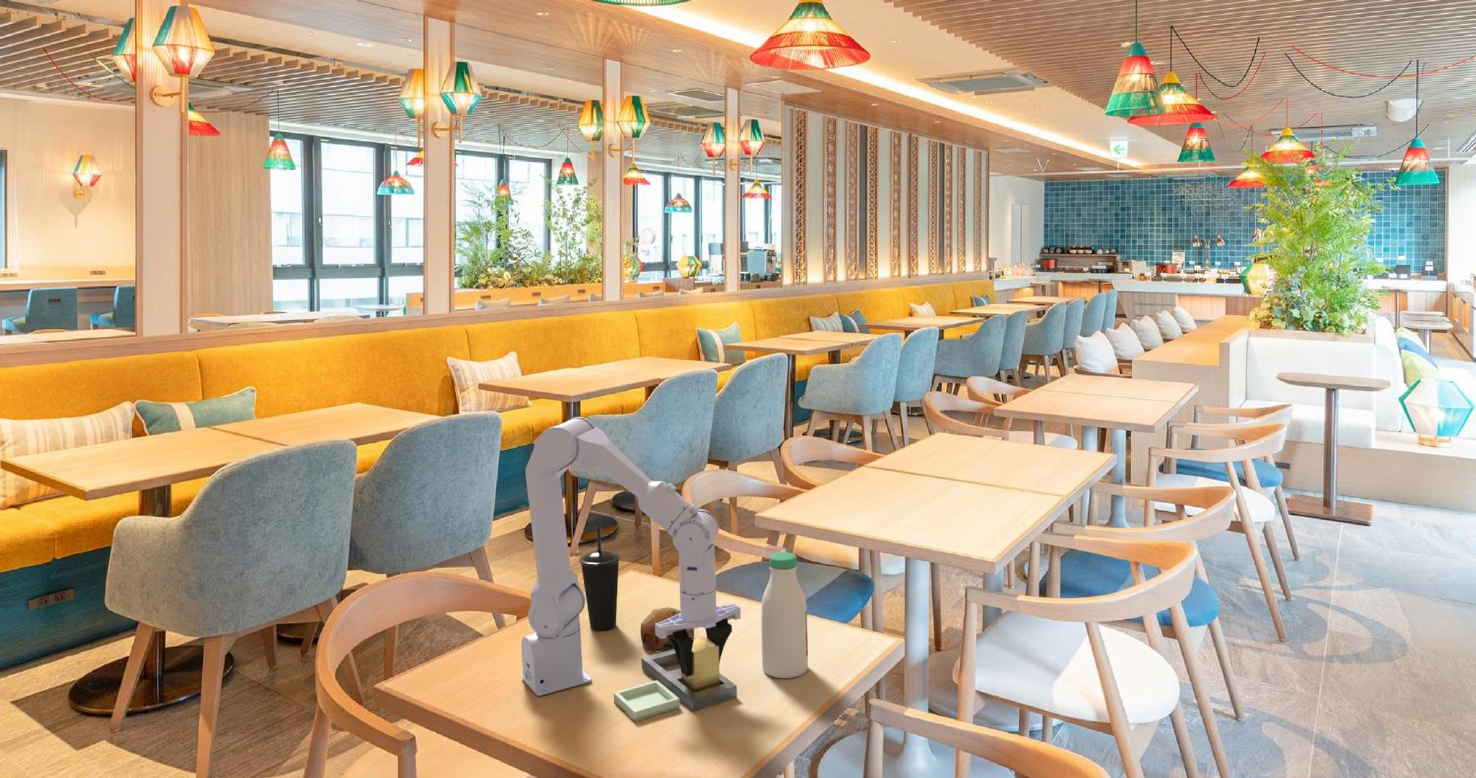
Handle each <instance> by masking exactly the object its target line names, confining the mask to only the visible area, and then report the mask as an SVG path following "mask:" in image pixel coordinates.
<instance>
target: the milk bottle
mask: <svg viewBox="0 0 1476 778" xmlns="http://www.w3.org/2000/svg"><path fill="white" fill-rule="evenodd" d="M797 557H798V556H797V555H796V554H794V553H791V552H787V551H782V552H780V551H779V552H774V553H772V554H770V555H769V563H768V564H769V570H770V577H769V580H768V583H767V584H766V585H767V586H766V588H765V590H764V593H763V595H762V599H761V606H760V607H761V608H760V609H761V616H760V618H761V624H760V625H761V626H760V627H761V628H760V631H761V666H762V670H763V672H764V673H765V674H766V675H768V676H770V677H773V678H776V679H793V678H797V677H800V676H802V675H804V674H805V673H806V672H807V670H808V666H809V659H808V658H809V652H808V651H809V649H808V647H809V646H808V645H809V644H808V643H809V642H808V640H809V639H808V636H809V635H808V611H807V610H808V608H807V606H808V605H807V601H806V595H805V593H804V591H803V588H802V586H801V585H800V582H799V579H798V576H797V569H798V567H797V566H798V558H797Z"/></svg>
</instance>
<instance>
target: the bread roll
mask: <svg viewBox="0 0 1476 778" xmlns="http://www.w3.org/2000/svg"><path fill="white" fill-rule="evenodd" d="M679 613H680V609H677V608H675V607H669V606H667V607H660V608H654V609H652V611H651V612H650V613H649V614H648V615H647V616H646V617H645V618H644V619H643V620H642V622H641V623H640V639H641V644H642V646H643V648H645V649H647V650H649V651H651V650H652V652H656V651H662V652H664V651H669V650H672V649H674V648H673V646H672V644H671V642H670V640H669V638H668V637H666V638H664V639H660V638H659V637H657V636H656V635H655V623H659V622H662V621H664V620H666V619H668V618H671V617H673V616H675V615H677V614H679ZM687 633H689V637H691V638H692V639H695V629H691V630H687Z"/></svg>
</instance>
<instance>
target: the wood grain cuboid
mask: <svg viewBox="0 0 1476 778" xmlns="http://www.w3.org/2000/svg"><path fill="white" fill-rule="evenodd" d="M693 640H694V642H693V646H692V653H691V668H692V669H691V676H688V677H687V676H685V675H684V674H683V673H682V672H681V681H682V684H683V685H684V686H686V687H687V688H688V689H689V690H691V691H692V692H693V693H696V692H699V691H702V690H706V689H709V688H712V687H715V686H719V685H720V677H719V673H720V663H719V646H718V645H717V644H715V643H714V642H712V641H711V640H709V639H708V638H707V636H700V637H696V638H693Z"/></svg>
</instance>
